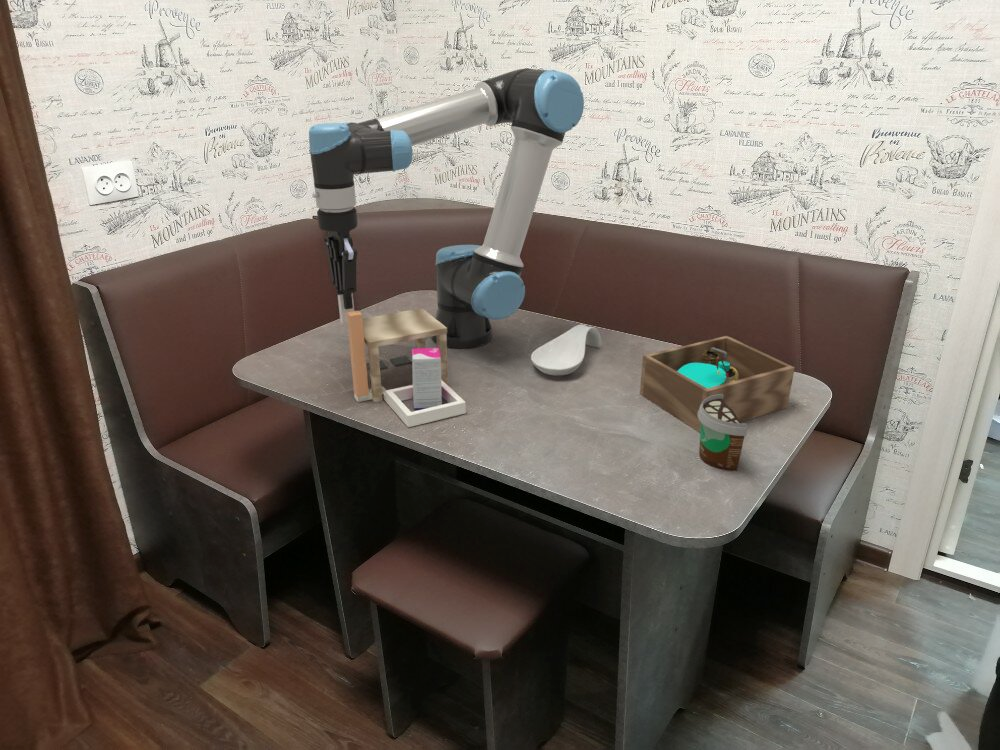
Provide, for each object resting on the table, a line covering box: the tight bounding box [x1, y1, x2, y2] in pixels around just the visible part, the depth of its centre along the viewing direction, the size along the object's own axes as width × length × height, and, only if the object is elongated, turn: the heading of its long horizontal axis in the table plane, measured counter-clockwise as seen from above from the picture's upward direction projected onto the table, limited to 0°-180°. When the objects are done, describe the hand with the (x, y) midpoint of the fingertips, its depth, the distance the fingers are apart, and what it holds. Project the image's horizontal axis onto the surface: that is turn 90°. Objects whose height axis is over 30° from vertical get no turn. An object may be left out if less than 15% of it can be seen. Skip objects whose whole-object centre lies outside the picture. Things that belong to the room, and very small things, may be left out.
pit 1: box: [366, 359, 389, 371], centre depth 170 cm, size 4×4×1 cm
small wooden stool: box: [362, 307, 449, 403], centre depth 160 cm, size 17×14×14 cm
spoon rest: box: [530, 323, 603, 377], centre depth 172 cm, size 24×12×7 cm, turn 146°
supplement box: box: [411, 347, 443, 412], centre depth 151 cm, size 6×6×12 cm
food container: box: [697, 394, 748, 472], centre depth 132 cm, size 12×6×10 cm, turn 5°
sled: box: [347, 310, 467, 428], centre depth 149 cm, size 18×17×19 cm
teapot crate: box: [639, 335, 796, 434], centre depth 153 cm, size 23×19×9 cm
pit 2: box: [389, 355, 412, 367], centre depth 173 cm, size 4×4×1 cm
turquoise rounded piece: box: [677, 347, 739, 388], centre depth 151 cm, size 14×18×15 cm
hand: (347, 321), depth 154 cm, fingers closed
